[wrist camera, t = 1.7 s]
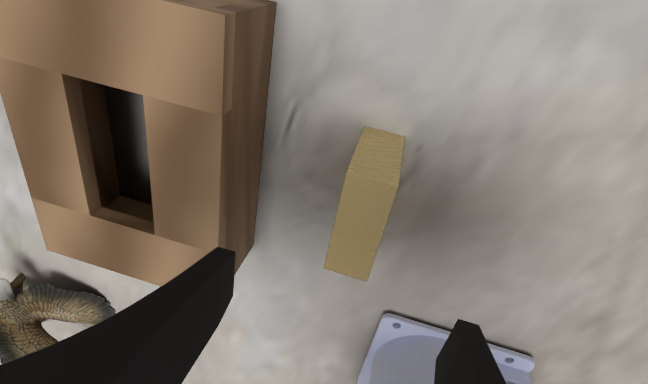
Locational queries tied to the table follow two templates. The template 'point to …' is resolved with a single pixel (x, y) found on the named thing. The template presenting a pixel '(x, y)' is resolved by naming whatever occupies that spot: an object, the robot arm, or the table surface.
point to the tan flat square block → (365, 203)
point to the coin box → (160, 121)
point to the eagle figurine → (41, 314)
